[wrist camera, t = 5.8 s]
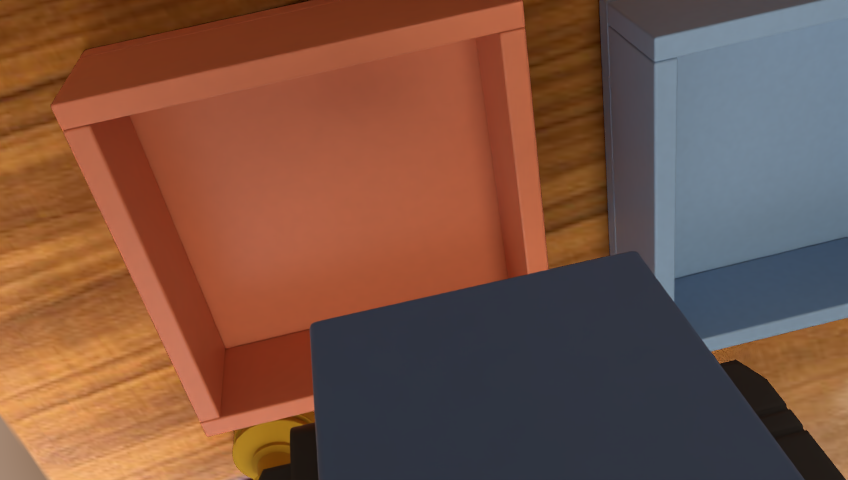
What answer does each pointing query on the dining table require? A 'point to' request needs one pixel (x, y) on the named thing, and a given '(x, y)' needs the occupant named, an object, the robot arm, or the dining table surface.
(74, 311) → the dining table surface
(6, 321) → the dining table surface
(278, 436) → the chess piece
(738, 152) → the blue bin
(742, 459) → the blue block
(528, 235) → the red bin
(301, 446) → the robot arm
